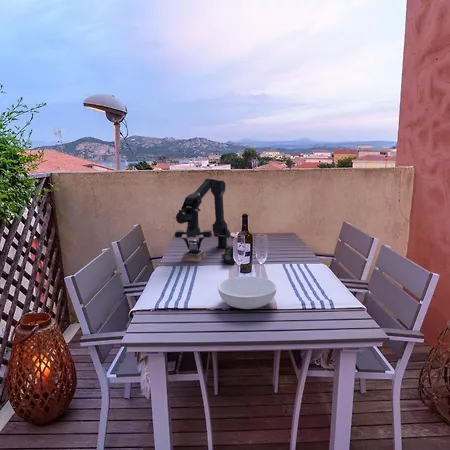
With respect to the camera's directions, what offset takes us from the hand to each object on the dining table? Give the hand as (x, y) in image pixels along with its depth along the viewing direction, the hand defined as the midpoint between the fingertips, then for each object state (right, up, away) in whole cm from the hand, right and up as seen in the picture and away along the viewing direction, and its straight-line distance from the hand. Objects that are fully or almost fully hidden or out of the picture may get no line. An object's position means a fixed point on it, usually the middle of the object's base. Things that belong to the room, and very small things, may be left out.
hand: (193, 249), depth 180 cm
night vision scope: (+19, -6, -4) cm, 20 cm away
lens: (0, -2, 0) cm, 2 cm away
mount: (0, -5, +1) cm, 5 cm away
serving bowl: (+24, -16, -57) cm, 64 cm away
